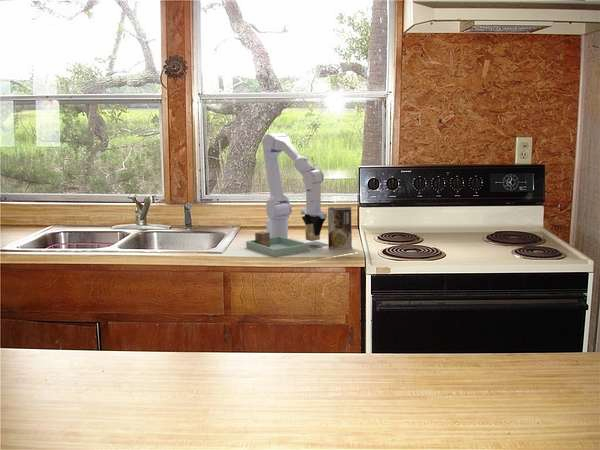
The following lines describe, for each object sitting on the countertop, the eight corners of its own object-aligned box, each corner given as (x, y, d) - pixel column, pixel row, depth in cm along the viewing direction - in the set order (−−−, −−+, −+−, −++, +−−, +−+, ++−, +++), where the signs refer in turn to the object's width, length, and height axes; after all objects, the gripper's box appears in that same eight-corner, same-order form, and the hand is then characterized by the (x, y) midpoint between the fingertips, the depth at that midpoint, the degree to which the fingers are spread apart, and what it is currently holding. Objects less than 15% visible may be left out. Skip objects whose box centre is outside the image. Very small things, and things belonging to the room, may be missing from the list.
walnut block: (255, 247, 252) (255, 232, 251) (262, 246, 255) (262, 231, 254) (262, 249, 250) (262, 233, 249) (269, 247, 253) (269, 232, 252)
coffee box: (351, 247, 254) (351, 206, 252) (351, 250, 248) (351, 209, 245) (328, 247, 255) (328, 206, 252) (327, 250, 249) (327, 209, 246)
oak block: (305, 239, 257) (305, 224, 256) (313, 238, 259) (313, 223, 258) (311, 241, 253) (311, 225, 252) (319, 239, 256) (319, 224, 255)
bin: (246, 249, 253) (246, 241, 252) (280, 243, 262) (280, 236, 261) (274, 258, 237) (274, 249, 236) (309, 252, 246) (309, 244, 245)
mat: (296, 245, 258) (296, 244, 258) (316, 242, 264) (316, 241, 264) (311, 249, 250) (311, 248, 250) (331, 246, 256) (331, 245, 256)
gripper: (294, 199, 257) (294, 232, 260) (316, 203, 246) (316, 238, 248) (308, 197, 261) (309, 230, 264) (331, 201, 250) (331, 236, 252)
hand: (313, 234), depth 256 cm, fingers closed on oak block, 4 cm apart
